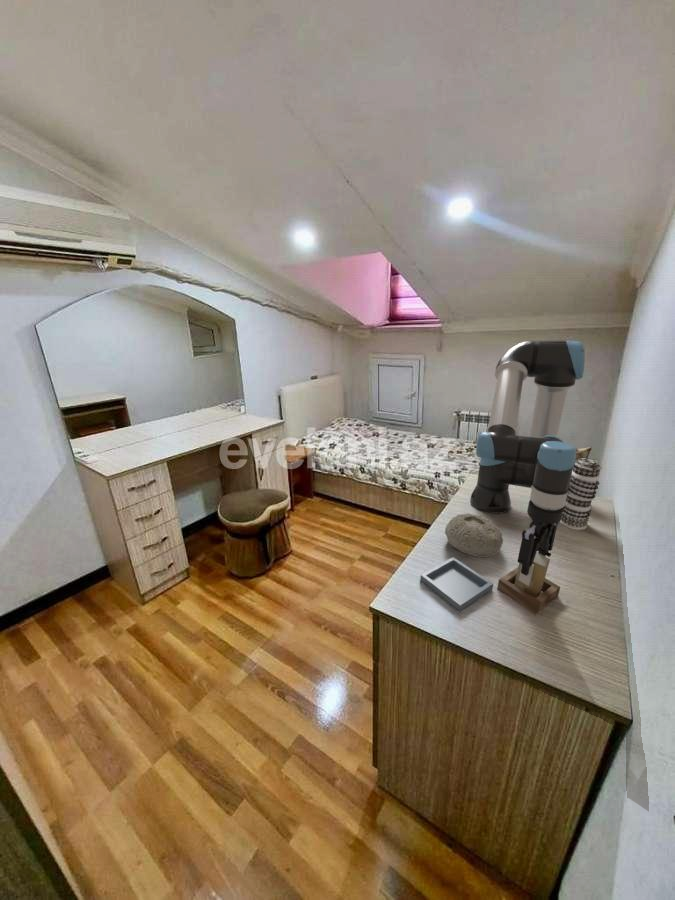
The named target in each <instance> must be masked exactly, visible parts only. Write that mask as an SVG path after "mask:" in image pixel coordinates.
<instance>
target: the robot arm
mask: <svg viewBox="0 0 675 900" xmlns="http://www.w3.org/2000/svg"><path fill="white" fill-rule="evenodd" d="M585 353H586V352H585V346H584V344H583V342H581V341H575V340H564V339H563V340H526V341H522V342H520V343H517V344H516V345H514V346H512V347H510V348H509V349H508V350H507V351H506V352H505V353H504V354H503V355H502V356H501V357H500V359H498V362H497V363H496V367H495V371H494V372H495V373H494V376H495V378H496V382H495V383H496V384H495V389H494V394H493V399H492V405H491V410H490V415H489V420H488V425H487V431H480V432H479V434H478V437H477V442H476V450H475V454H476V456H477V457H478V458H479V459H480V460H479V462H478V464H479V466H478V467H479V468H478V474H477V483H476V486H475V487H474V489H473V491H472V493H471V494H470V499H469V500H470V501H469V502H470V504H471V506H473V507H474V508H476V509H477V510H479V511H482V512H485V513H491V514H503V513H507V512H508V511H510V509H511V506H512V505H511V504H512V500H511V496H510V491H509V487H510V486H517V487H523V488H527V489H531V490H530V491H531V492H530V495H529V501H528V505H527V511H526V512H527V515H528V517H529V518H530V519H531V522H530V523H529V527H528V528H529V529H528V530H525V529H523V530H522V533H521V542H520V547H519V551H518V552H519V553H518V557H517V563H518V564H519V563H521V564H522V566H521V571H520V576H519V581H521V582H523V583H524V584H526V585H528V586H529V585H530V582H531V577H532V573H533V568H534V564H533V561H534V558H535V555H536V553H537V554H539V555H541V556H544V557H546V558H550V557H551V555H552V553H551V551H552V550H553V547H554V542H555V538H556V534H557V529H558V526H559V523H560V521H561V518H562V514H563V507H564V506H565V502H566V497H567V493H568V487H569V483H570V479H571V475H572V471H573V467H574V465H575V462H576V460H575V458H576V449H575V448H576V447H575V446H573V445H571V444H570V443H568V442H565V441H564V440H563V439H562V438H561V437H559V436H558V433H559V429H560V425H561V420H562V416H563V411H564V408H565V403H566V398H567V394H568V391H569V389H571V388H573V387H574V386H575V384H576V381H579V380H581V379H583V377H584V376H583V375H584V373H585V372H584V371H585V363H586V362H585V361H586V359H585V358H586V356H585V355H586V354H585ZM527 377H528V378H534V379H533V380H534V381H533V382H534V384H535V385H536V386H537V392H536V398H535V402H534V408H533V413H532V419H531V423H530V429H529V435H528V436H525V435H524V436H523V435H517V427H518V422H519V421H518V420H519V414H520V413H519V412H520V406H521V405H520V404H521V399H522V391H523V384H524V383H523V382H524V381H525V380H526V379H527Z"/></svg>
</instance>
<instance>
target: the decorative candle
mask: <svg viewBox="0 0 675 900" xmlns="http://www.w3.org/2000/svg"><path fill="white" fill-rule="evenodd" d="M602 468H603V466H602V465H601V464H600V462H599V461H597V460H596V459H592V458H589V457H588V458H581V459H578V460H577V461H576V462H575V465H574V467H573V471H572V475H571V479H570V483H569V487H568V493H567V497H566V502H565V506H564V507H563V514H562V518H561V521H560V522H559V523H560V524H561V525H563V526H564V527H566V528H569V529H572V530H577V531H578V530H579V531H582V530H585V529H587V525H588V523H589V522H590V521H589V517H590V514H591V511H592V509H591V507H592V501H594V499H595V498H596V494H597V491H596V490H598V489H599V485H600V482H599V477H600V472H601V469H602Z"/></svg>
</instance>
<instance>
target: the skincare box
mask: <svg viewBox="0 0 675 900" xmlns="http://www.w3.org/2000/svg"><path fill="white" fill-rule="evenodd" d="M550 562H551V559H550V557H547V556H546V557H544V556H541V555H539V554H537V553H536V555H535V558H534V561H533V564H534V568H533V573H532V577H531V582H530V585H529V586H528V585H526V584H524V583H523V582H521V581H519V576H520V571H521V566H522V564H521V563H519V562H518V566H517V567H518V571H517V575H516V579H515V583H514V585H515V586H517V587H518V588H520V589H521V590H523V591H525V592H526V593H528V594H529V595H531V596H532V597H534V598H537V597H538V596H539V595H541V594H542V591H541V590H542V587H543V583H544V580H545V578H546V575H547V572H548V568H549V565H550Z"/></svg>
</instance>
